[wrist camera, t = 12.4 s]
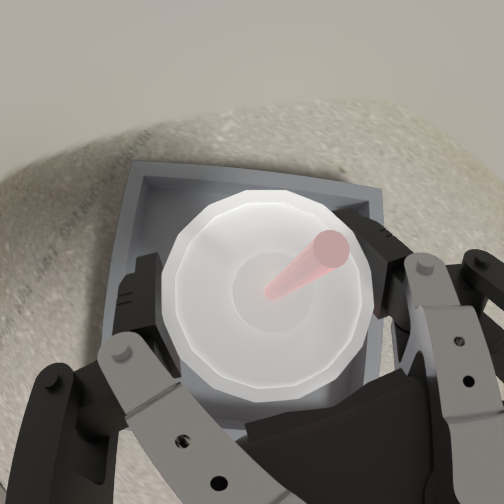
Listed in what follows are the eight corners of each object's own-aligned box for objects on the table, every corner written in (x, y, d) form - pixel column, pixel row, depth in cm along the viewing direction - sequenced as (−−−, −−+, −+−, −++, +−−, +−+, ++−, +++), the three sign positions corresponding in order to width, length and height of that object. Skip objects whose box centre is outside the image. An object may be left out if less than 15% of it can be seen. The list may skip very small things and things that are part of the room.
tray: (112, 412, 17) (98, 423, 15) (141, 177, 21) (132, 160, 18) (354, 430, 18) (369, 441, 16) (366, 202, 22) (381, 189, 19)
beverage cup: (207, 375, 16) (150, 526, 3) (183, 267, 18) (75, 103, 4) (314, 348, 17) (522, 381, 3) (288, 244, 18) (416, 66, 5)
